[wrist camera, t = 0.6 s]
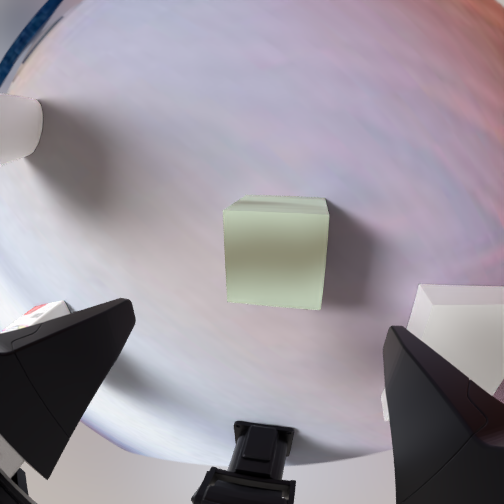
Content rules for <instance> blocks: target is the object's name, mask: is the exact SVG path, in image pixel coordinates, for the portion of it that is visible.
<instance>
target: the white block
mask: <svg viewBox="0 0 504 504" xmlns="http://www.w3.org/2000/svg"><path fill="white" fill-rule="evenodd" d="M407 330H408V331H409V332H411V333H412V334H413V335H415V336H416V337H417V338H419V339H420V340H421V341H423V342H424V343H425V344H427V345H428V346H429V347H430V348H432V349H433V350H434V351H436V352H437V353H438V354H439V355H441V356H442V357H443V358H445V359H446V360H447V361H448V362H450V363H451V364H452V365H453V366H455V367H456V368H457V369H458V370H460V371H461V372H462V373H464V374H465V375H466V376H467V377H469V380H470V379H471V380H472V381H474V382H475V383H476V384H477V385H478V386H480V387H481V388H482V389H484V390H485V391H486V392H487V393H489V394H490V395H492V396H493V395H494V393H495V392H496V390H497V388H498V387H499V385H500V384H501V382H502V380H503V379H504V286H465V285H434V284H419V286H418V290H417V294H416V298H415V302H414V305H413V309H412V312H411V316H410V319H409V322H408V326H407ZM381 401H382V408H383V414H384V421H390V420H389V413H388V406H387V399H386V392H385V388H384V391H383V393H382V395H381Z"/></svg>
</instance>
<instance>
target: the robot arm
mask: <svg viewBox="0 0 504 504" xmlns="http://www.w3.org/2000/svg"><path fill="white" fill-rule="evenodd" d="M135 321H136V319H135V314H134V310H133V306H132V302H131V301H130V300H129V299H124V298H119V299H116V300H112V301H109V302H106V303H103V304H100V305H96V306H93V307H90V308H87V309H84V310H80V311H77V312H74V313H71V314H68V315H64V316H61V317H58V318H55V319H51V320H48V321H45V322H41V323H38V324H35V325H32V326H28V327H25V328H21V329H17V330H13V331H9V332H5V333H1V334H0V504H37V503H36V502H35V501H33V500H32V499H31V498H30V497H29V496H28V490H27V483H26V476H25V472H24V471H23V470H22V469H21V468H20V467H21V465H22V464H23V463H24V461H25V462H26V463H27V464H29V465H30V466H31V467H32V468H33V469H34V470H36V471H37V472H38V473H39V474H40V475H42V476H43V477H44V478H45V479H47V480H48V478H49V477H50V475H51V473H52V471H53V469H54V467H55V465H56V464H57V462H58V460H59V458H60V456H61V454H62V452H63V450H64V448H65V446H66V445H67V443H68V441H69V438H70V437H71V435H72V433H73V431H74V430H75V428H76V426H77V424H78V422H79V421H80V419H81V417H82V416H83V414H84V412H85V410H86V409H87V407H88V405H89V404H90V402H91V400H92V399H93V397H94V395H95V394H96V392H97V390H98V389H99V387H100V385H101V384H102V382H103V380H104V379H105V377H106V375H107V374H108V372H109V371H110V369H111V367H112V366H113V364H114V363H115V361H116V359H117V358H118V356H119V354H120V353H121V351H122V349H123V347H124V345H125V343H126V341H127V339H128V337H129V335H130V333H131V331H132V329H133V327H134V325H135ZM383 360H384V376H385V392H386V399H387V406H388V413H389V420H390V427H391V436H392V445H393V455H394V467H395V484H396V504H504V404H503V403H502V402H500V401H499V400H497V399H496V398H494V397H493V396H492V395H490V394H489V393H487V392H486V391H485V390H484V389H482V388H481V387H480V386H478V385H477V384H476V383H475V382H474V381H472V380H471V379H470V380H469V377H467V376H466V375H465V374H464V373H462V372H461V371H460V370H458V369H457V368H456V367H455V366H453V365H452V364H451V363H450V362H448V361H447V360H446V359H445V358H443V357H442V356H441V355H439V354H438V353H437V352H436V351H434V350H433V349H432V348H430V347H429V346H428V345H427V344H425V343H424V342H423V341H421V340H420V339H419V338H417V337H416V336H415V335H413V334H412V333H411V332H409V331H408V330H407V329H406V328H404V327H403V326H391V327H390V328H389V330H388V333H387V337H386V340H385V343H384V347H383ZM234 432H235V441H236V446H235V449H234V452H233V455H232V458H231V462H230V465H229V468H228V471H226V470H222V469H217V468H216V467H211V469H210V471H207V473H206V476H205V478H204V480H203V482H202V484H201V486H200V487H199V488H198V490H197V491H196V492H195V494H194V495H193V496H192V498H191V501H192V503H193V504H293V503H294V495H295V486H296V485H295V484H296V481H295V480H291V481H286V480H282V475H283V470H284V464H285V459H286V456H289V454H290V449H291V445H292V440H293V435H294V429H292V428H284V427H275V426H267V425H259V424H252V423H246V422H240V421H236V422H235V423H234ZM282 497H284V498H282Z"/></svg>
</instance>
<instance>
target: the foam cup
mask: <svg viewBox="0 0 504 504" xmlns="http://www.w3.org/2000/svg"><path fill="white" fill-rule="evenodd" d="M42 125H43V113H42V108H41V104H40V103H39V102H38V101H37V99H32V98H28V97H22V96H16V95H10V94H3V93H0V166H3V165H5V164H8V163H10V162H13V161H16V160H18V159H21V158H23V157H25V156H28V155H30V154H31V153H33V152H34V150H35V148H36V146H37V145H38V143H39V140H40V136H41V132H42Z"/></svg>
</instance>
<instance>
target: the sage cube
mask: <svg viewBox="0 0 504 504" xmlns="http://www.w3.org/2000/svg"><path fill="white" fill-rule="evenodd" d="M223 225H224V248H225V268H226V287H227V302H233V303H242V304H252V305H262V306H273V307H285V308H298V309H312V310H321V302H322V294H323V285H324V275H325V265H326V254H327V242H328V228H329V212H328V208H327V205H326V201H325V198H316V197H296V196H270V195H245V196H244V197H242V198H241V199H239V200H238V201H236V202H235V203H233V204H232V205H230V206H229V207H227V208H226V209H225V210H223Z"/></svg>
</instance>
